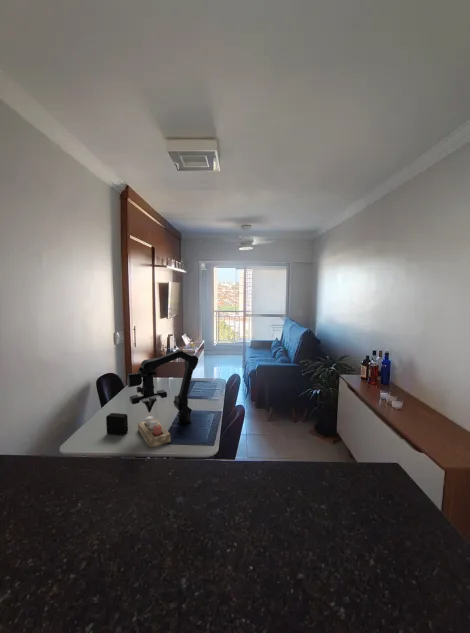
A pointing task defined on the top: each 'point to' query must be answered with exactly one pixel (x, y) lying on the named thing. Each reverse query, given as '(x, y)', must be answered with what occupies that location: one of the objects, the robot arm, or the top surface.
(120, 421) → the electronic device
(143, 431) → the beech block
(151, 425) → the plug
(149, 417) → the plug
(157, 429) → the red plug
